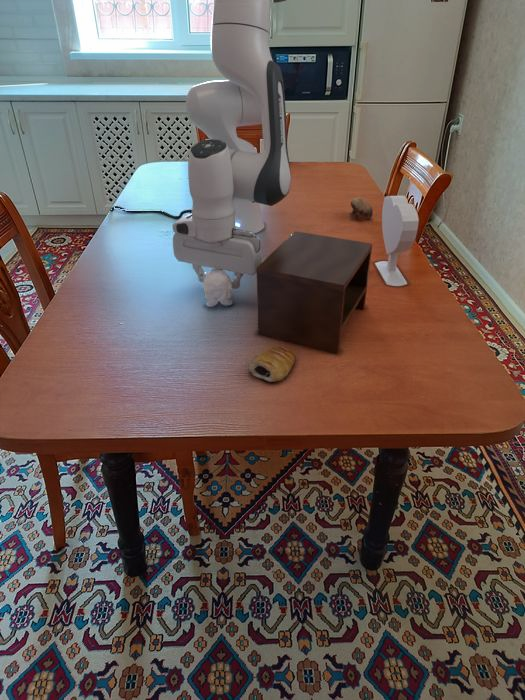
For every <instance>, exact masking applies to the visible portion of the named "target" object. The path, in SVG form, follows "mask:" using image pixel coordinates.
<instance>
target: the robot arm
mask: <svg viewBox="0 0 525 700" xmlns="http://www.w3.org/2000/svg"><path fill="white" fill-rule="evenodd" d="M286 1H287V0H213V5H212V16H211V29H210V30H211V31H210V33H211V34H210V35H211V36H210V51H211V59H212V61H213V64H214V65H215V67H216V69H217V70H218V71H219V73H220V74H221V75H222V76H223V77H224V78H225V80H224V79H223V80H211V81H206V82H202V83H198V84H197V85H193V86H191V88H190V89H189V90H188V92H187V95H186V97H185V98H186V99H185V110H186V111H185V112H186V114H187V116H188V119H189V120H190V122H191V124H193V126H195V127H196V129H197V128H198V129H199V130H200V131H202V132H203V134H205V135H206V137H207V138H208V139H204V140H200V141H198V142H197V143H195V144H193V145H192V146H191V147H190V149H189V152H188V162H187V177H188V188H189V189H188V190H189V195H190V197H191V200H192V206H191V208H190V209H184V210H182V211H181V212H179V214H178V215H173V214H171V213H168V212H166V211H164V210H160V211H125V210H120V209H126V208H125V207H123V206H120V205H115V206H112V207H111V208H110V209H109V212H114V211H115V210H116V209H114V207H115V208H120V209H118V210H120V211H122V212H124V213H127V214H161V215H164V216H165V217H168V218H171V219H174V220H176V221H175V222H174V223H172V231H173V232H174V233H173V236H172V251H173V257H174V258H175V260H176V261H178V262H181V263H186V264H190V265H192V269H193V270H194V272H195V274H196V275H197V278H198V282H200V283H203V282H204V278H205V276H206V275H207V274H208V273H209V272H205V270H204V268H203V267H206V268H210V269H220V270H223V271H225V272H230V273H233V276H234V277H235V278H233V279H231V282H232V290H239V288H240V287H241V279H242V278H243V277H244V275H245V276H250V277H251V276H252V277H253V276H255V275H257V267H258V266H259V265H260V264H261V263H262V262H263V261H262V254H261V253H262V252H261V239H260V237H259V236H258V235H257V233H259V232H261V231H262V230H264V228H265V223H264V220H263V216H262V211H261V205H265V206H268V207H269V206H270V207H273V206H275V205H277V204H279V203H280V202H281V201H282V200H284V199H285V198H286V197H287V196H288V194H289V193H290V190H291V184H292V172H291V165H290V164H291V163H290V158H289V150H288V149H289V148H288V133H287V113H286V98H285V97H286V96H285V85H284V78H283V74H282V73H283V72H282V71H281V67H280V65H279V64H277V63H276V62H275V61H274V60H273V57H272V54H271V50H270V43H269V42H270V41H269V37H270V35H269V34H270V18H271V17H270V16H271V13H270V12H271V7H270V6H271V5H270V3H273V4H275V3H283V2H286ZM257 125H258V126H259V125H261V129H262V130H261V131H262V144H263V150H262V151H261V152H257V149H256V147H255V146H254V145H253V144H252V143H251V142H249V141H248V140H244V139H243V138H240V137H238V134H237V128H239V127H247V126H257ZM111 209H112V210H111ZM162 211H163V212H162ZM185 214H186V215H185ZM183 215H184V216H183Z"/></svg>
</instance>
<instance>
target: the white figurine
mask: <svg viewBox="0 0 525 700" xmlns="http://www.w3.org/2000/svg"><path fill="white" fill-rule="evenodd" d="M207 273H208V274H207V275H206V276H205V278H204V282H202V284H203V285H202V289H203V290H204V299H205V300H207V301H206V303H205V306H206V307H210V308H214V307H215V306H216V305H218V304H219V302H220V304H221V305H223V306H225V307H227V306H231V305H233V300H231V299H230V298H233V291H232V290H233V288H232V282H231V281H232V279H231V277H230V275H229V274H228V273H227V271H225V270H220V269H215V268H211V270H210V271H209V272H207Z"/></svg>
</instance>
